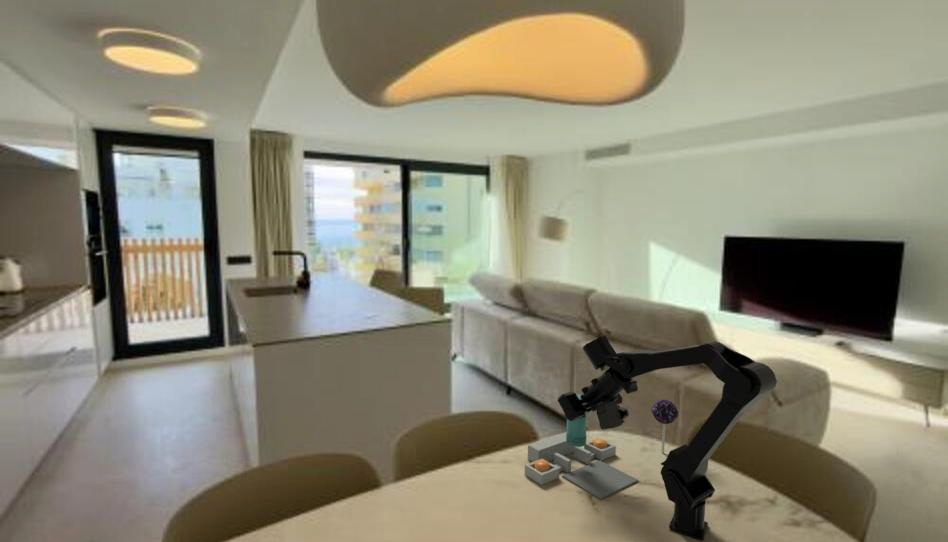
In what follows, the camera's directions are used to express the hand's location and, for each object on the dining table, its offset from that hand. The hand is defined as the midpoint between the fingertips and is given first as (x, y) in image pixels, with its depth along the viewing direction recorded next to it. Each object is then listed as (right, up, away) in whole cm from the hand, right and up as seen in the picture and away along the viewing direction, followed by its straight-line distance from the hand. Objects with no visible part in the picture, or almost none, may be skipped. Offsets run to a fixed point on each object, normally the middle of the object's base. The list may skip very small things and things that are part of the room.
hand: (572, 415), depth 122 cm
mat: (+5, -13, -7) cm, 16 cm away
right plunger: (+9, -12, +7) cm, 17 cm away
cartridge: (+1, -7, -1) cm, 7 cm away
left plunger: (-9, -13, -6) cm, 17 cm away
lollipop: (+27, -13, +8) cm, 31 cm away
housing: (-2, -13, +3) cm, 13 cm away
